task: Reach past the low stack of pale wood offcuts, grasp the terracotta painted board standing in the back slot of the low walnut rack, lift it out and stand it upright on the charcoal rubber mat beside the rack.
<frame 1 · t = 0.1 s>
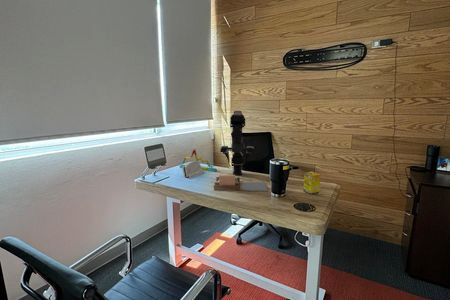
hand: (237, 164, 139), 15 cm above the table, tool pointing down, fingers open, 9 cm apart
beige rounded block: (193, 174, 170), on the table
offcut stack: (227, 182, 152), on the table
walnut rack: (227, 185, 147), on the table
charcoal mat: (254, 187, 144), on the table
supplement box: (310, 192, 136), on the table
terracotta board: (227, 188, 142), resting in walnut rack
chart: (197, 169, 183), on the table
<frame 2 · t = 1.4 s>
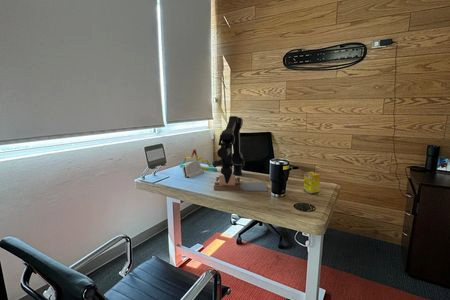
hand: (227, 180, 141), 5 cm above the table, tool pointing down, fingers open, 9 cm apart
nothing on the table moved.
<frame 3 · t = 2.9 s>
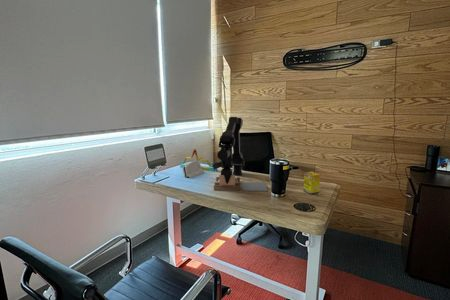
hand: (227, 182, 141), 4 cm above the table, tool pointing down, fingers closed on terracotta board, 2 cm apart
terracotta board: (227, 188, 142), resting in walnut rack, touching gripper
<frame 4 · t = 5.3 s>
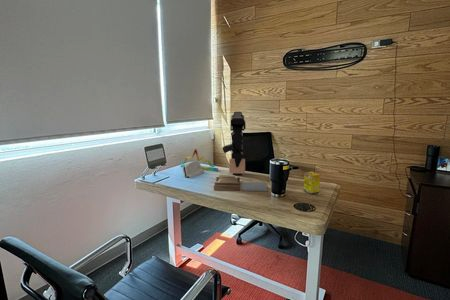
hand: (237, 166, 140), 13 cm above the table, tool pointing down, fingers closed on terracotta board, 2 cm apart
terracotta board: (237, 172, 141), point 9 cm above the table, touching gripper
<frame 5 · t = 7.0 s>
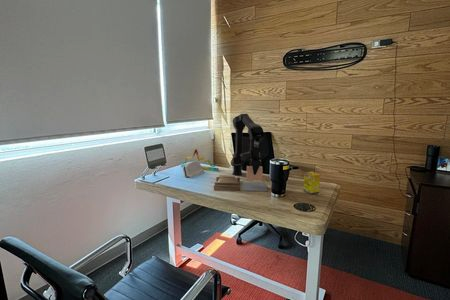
hand: (254, 173, 143), 8 cm above the table, tool pointing down, fingers closed on terracotta board, 2 cm apart
terracotta board: (254, 179, 143), point 4 cm above the table, touching gripper
when the fingers open (5 cm above the table, at t = 8.2 s): terracotta board stays where it is, resting on charcoal mat.
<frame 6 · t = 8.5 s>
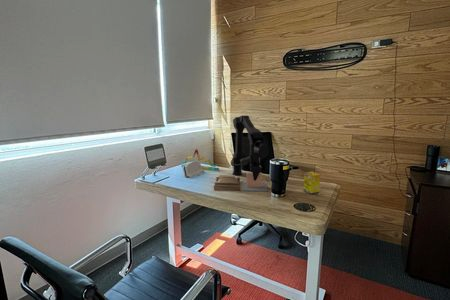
hand: (254, 178, 143), 5 cm above the table, tool pointing down, fingers open, 6 cm apart
terracotta board: (254, 186, 144), resting on charcoal mat
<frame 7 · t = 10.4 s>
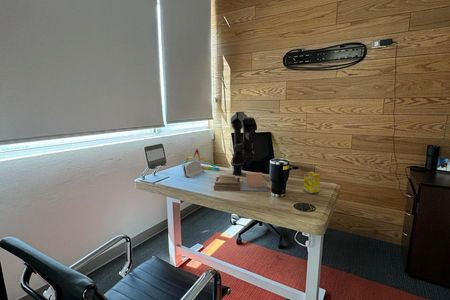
hand: (247, 164, 145), 12 cm above the table, tool pointing down, fingers open, 9 cm apart
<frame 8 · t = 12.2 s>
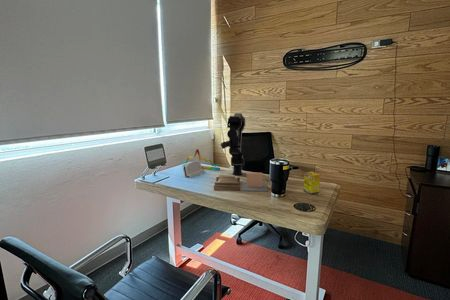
hand: (234, 161, 152), 13 cm above the table, tool pointing down, fingers open, 9 cm apart
at the end: terracotta board inside the target area on the charcoal mat (0.1 cm from its centre), point 0.5 cm above the charcoal mat's base; terracotta board tilted 0°; the gripper is holding nothing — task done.
